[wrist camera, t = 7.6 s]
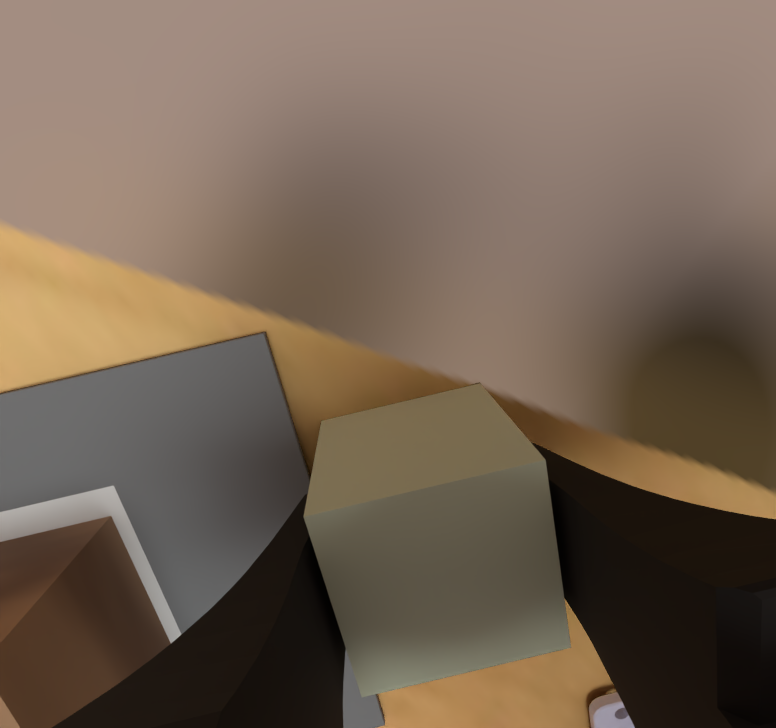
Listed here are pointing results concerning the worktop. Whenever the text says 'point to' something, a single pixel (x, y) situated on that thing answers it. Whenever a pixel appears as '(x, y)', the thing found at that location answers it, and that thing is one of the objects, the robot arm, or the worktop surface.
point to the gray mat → (166, 472)
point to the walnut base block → (70, 622)
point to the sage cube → (435, 539)
